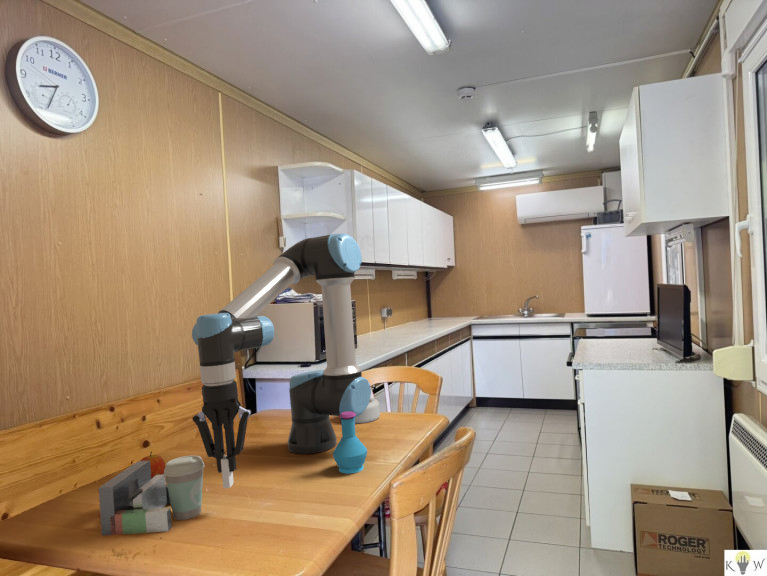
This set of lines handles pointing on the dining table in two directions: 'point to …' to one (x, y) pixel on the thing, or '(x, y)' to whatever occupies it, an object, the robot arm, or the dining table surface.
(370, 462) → the dining table surface
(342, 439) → the perfume bottle
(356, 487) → the dining table surface
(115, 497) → the gauge base
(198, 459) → the coffee cup
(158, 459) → the fruit
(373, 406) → the donut shape
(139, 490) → the grey rectangular block
